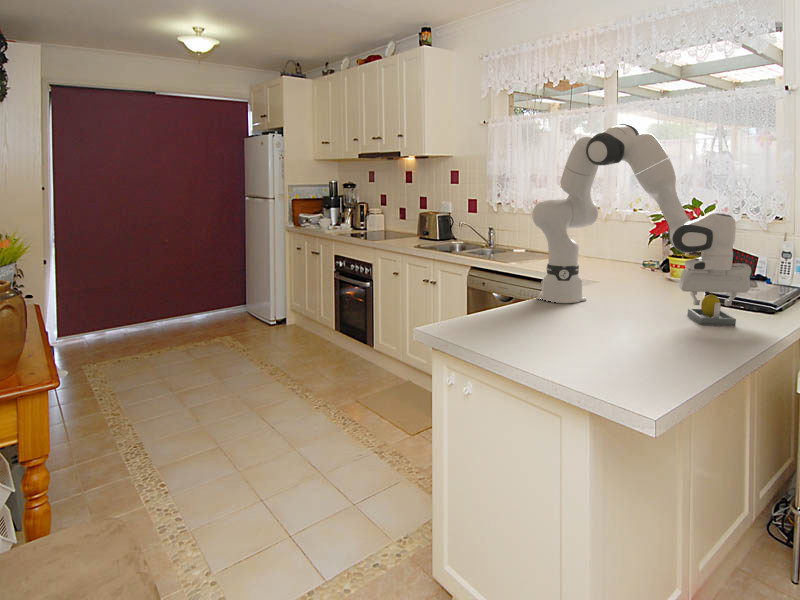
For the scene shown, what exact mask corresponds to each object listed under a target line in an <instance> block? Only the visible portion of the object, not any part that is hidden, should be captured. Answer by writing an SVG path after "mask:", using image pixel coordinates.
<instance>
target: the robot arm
mask: <svg viewBox="0 0 800 600" xmlns="http://www.w3.org/2000/svg"><path fill="white" fill-rule="evenodd" d="M622 161H624V162H626V163H627V164H628V165H629V166H630V169H631V170H632V172H633V174H634V176H635V179H636V180H637V181H638V183H639V184H640V186H641V187H642V189H643V190H644V192H646V193H647V194H648V195H649V196H650V197H651V198H652V199H654V201H655V203H656V204H657V206H658V207H659V209H660V211H661V213H662V215H663V216H664V219H665V221H666V223H667V226H668V239H669V242H670V244H671V246H673V247H674V248H675V249H676V250H677V251H679V252H681V253H685V254H691V253H696V252H701V256H700V257H696V258H692V259H688V260H686V261H685V262H684V267H685V268H683V270H682V272H681V275H680V278H679V285H678V286H679V289H680V290H681V291H682V292H684V293H685V292H689V293H690V295H691V298H692V300H693V303H692V304H693V305H694V306H701V305H700V303H701V300H700V299H699V298H697V295H698V293H729V295H730V296H729V297H728V298H727V299H724V306H726V307H731V306H732V302H733V301H734V299H736V297H737V293H743V294H745V293H746V294H747V293H748V292H750V289H751V279H750V276H751V274H752V268H751V266H750V265H749V264H747V263H733V258H734V252H733V247H734V244H735V240H736V220H735V218H734V217H733V216H732V215H730V214H728V213H722V212H717V211H716V212H715V211H712V212H708V213H707V214H705V215H704V216H701V217H698V218H696V219H694V220H692V219H691V218H689V216H688V215H687V213H686V211H685V209H684V207H683V205H682V203H681V201H680V199H679V197H678V194H677V190H676V182H677V176H676V173H675V170H674V167H673V164H672V162H671V160H670V158H669V155H668V154H667V151H666V149H665V148H664V147H663V146H662V144H661V143H660V141H659V140H658V139H657V138H656V136H655V135H654V134H653V133H648V132H644V133H640V130H638V128H637V127H636V126H634V125H632V124H630V123H621V124H618V125H615V126H611V127H609V128H607V129H605V130H603V131H601V132H599V133H596V134H595V135H593V136H583V137H580V138H578V140H576V141H575V144H573V147H572V149H571V150H570V153H569V155H568V157H567V160H566V162H565V165H564V168H563V171H562V175H561V178H560V187H561V190H563V192H565V193H566V194H567V195H568V196H567V198H566V199H548V200H543V201H540V202H537V203H536V205H535V206H534V207H533V210H532V220H533V223H534V224H535V226H536V227H537V228H538V229H540V230H541V232H542V233H543V234H544V236H545V239H546V241H547V247H548V249H547V250H548V261H547V262H548V263H547V265H546V273H547V274H546V275H545V276H544V277H543V278H542V280H541V282H540V287H541V288H540V290H541V291H540V292H539V294H538V295H537V297H536V300H538V299H539V301H544V300H546V301H545V302H548V301H551V302H550V303H554V302H556V303H555V304H557V303H558V304H574V303H579V302H586V301H587V297H586V296H584V295H583V279H582V278H581V277H580V276H579V273H580V264H579V251H580V250H579V244H578V242H577V241H576V240H574V239H573V238H571V237H569V235H568V232H567V231H568V229H581V228H586V227H589V226H593V225H594V224H595V222H597V219H598V216H599V209H598V206H597V204H596V203H595V201H594V200H593V199H592V196H591V192H592V191H591V190H592V186H593V183H594V181H595V177H596V175H597V173H598V172H597V171H598V169H599V166H609V165H614V164H615V165H616V164H619V163H620V162H622ZM540 298H541V300H540ZM542 299H543V300H542Z"/></svg>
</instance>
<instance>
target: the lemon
mask: <svg viewBox="0 0 800 600" xmlns="http://www.w3.org/2000/svg"><path fill="white" fill-rule="evenodd" d="M701 301H702V302H701V305H700V306H701V308H700V309H702V311H703V313H704V314H705V315H707V316H709V317H710V318H712V317H713V316H714V306H715V303H721V299H719V298H718V296H716V295H714V294H713V293H710V294H709V295H708V294H707V295H706V296H705V297H703V299H702V300H701ZM721 306H722V304H720V309H721V308H722V307H721Z"/></svg>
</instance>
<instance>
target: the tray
mask: <svg viewBox="0 0 800 600" xmlns="http://www.w3.org/2000/svg"><path fill="white" fill-rule="evenodd" d="M720 304H721V302H720V303H715V306H714V316H713V317H712V318H710V317H709V316H707V315H705V314H704V313H703V311H702V309H701V308H687V314H686V316H687V317H688V318H690V319H691V320H692V321H694V322H695V323H696V324H698V325H699V326H700V325H701V326H702V327H723V326H735V327H736V322H737V318H736V317H733V316H732V315H730V314H728V313H727V312H725V311H723V310H722V309H721V308H720ZM721 305H722V304H721ZM701 326H700V327H701Z"/></svg>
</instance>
